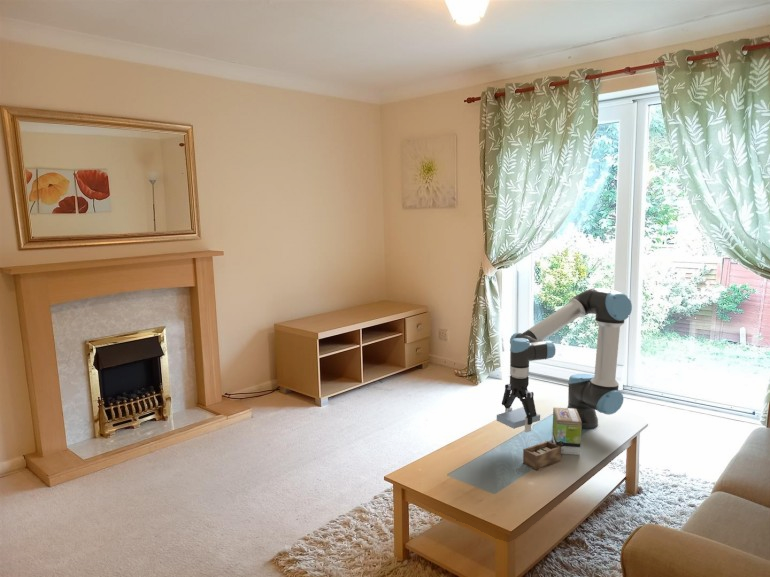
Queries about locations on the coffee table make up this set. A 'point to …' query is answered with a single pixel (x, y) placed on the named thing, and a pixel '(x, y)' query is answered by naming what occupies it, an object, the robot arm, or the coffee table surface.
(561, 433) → the tea box
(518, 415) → the lid
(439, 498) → the coffee table surface
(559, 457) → the caddy
